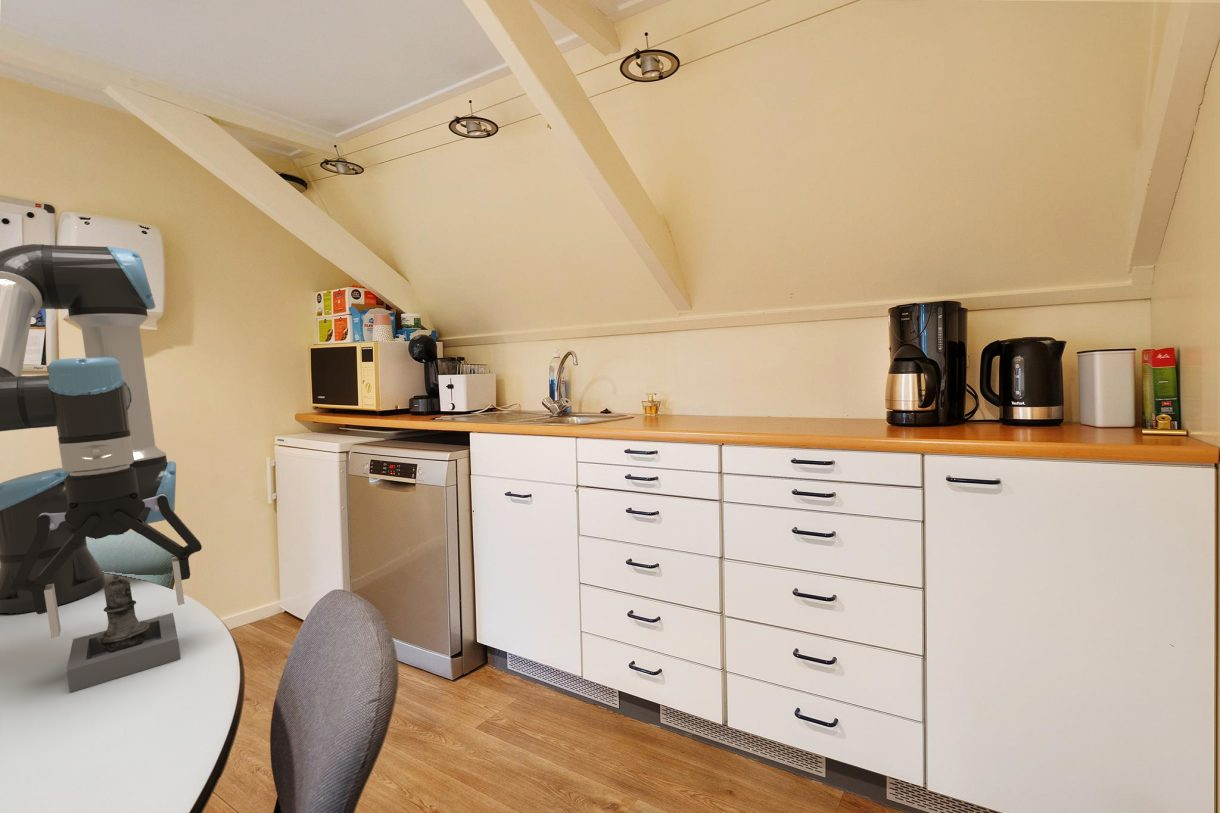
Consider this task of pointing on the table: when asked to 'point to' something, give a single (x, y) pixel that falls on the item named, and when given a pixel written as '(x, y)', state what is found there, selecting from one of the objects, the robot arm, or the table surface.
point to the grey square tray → (121, 655)
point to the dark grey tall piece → (121, 618)
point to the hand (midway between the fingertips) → (121, 617)
